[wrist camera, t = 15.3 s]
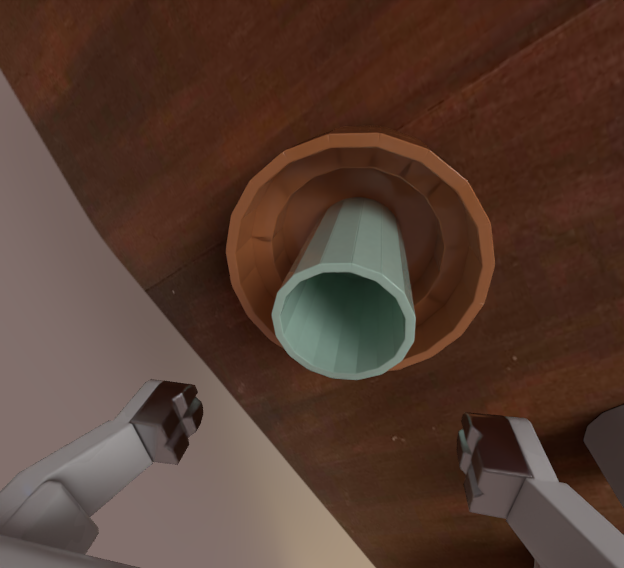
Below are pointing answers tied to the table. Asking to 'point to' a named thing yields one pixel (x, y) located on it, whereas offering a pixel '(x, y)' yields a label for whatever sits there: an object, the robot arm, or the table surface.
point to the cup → (609, 447)
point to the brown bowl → (382, 188)
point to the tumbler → (348, 294)
